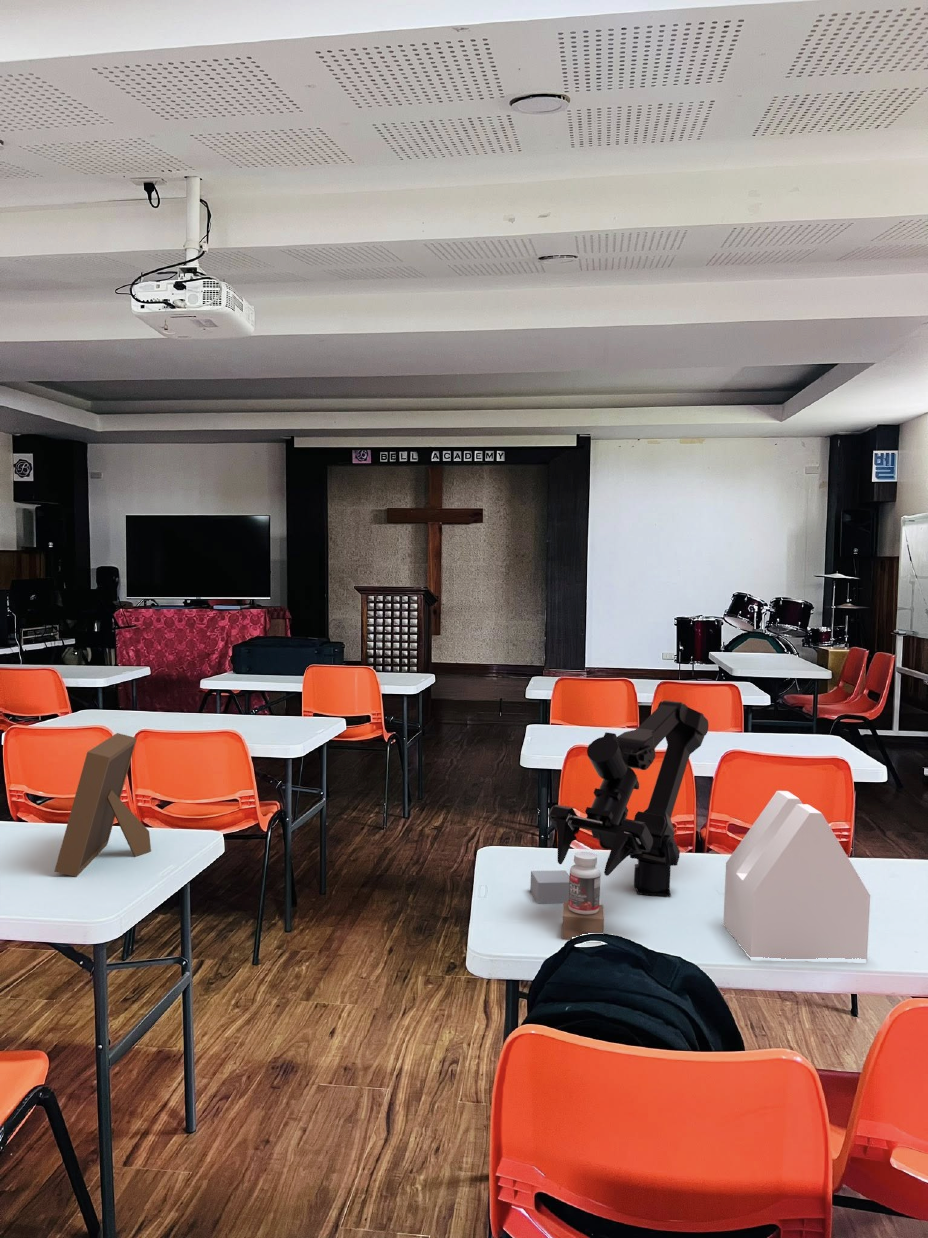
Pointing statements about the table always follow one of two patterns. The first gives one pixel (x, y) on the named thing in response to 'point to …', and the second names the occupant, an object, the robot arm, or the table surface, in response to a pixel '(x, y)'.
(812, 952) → the pinkish house shaped block
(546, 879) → the grey block
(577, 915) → the walnut block
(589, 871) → the pill bottle
